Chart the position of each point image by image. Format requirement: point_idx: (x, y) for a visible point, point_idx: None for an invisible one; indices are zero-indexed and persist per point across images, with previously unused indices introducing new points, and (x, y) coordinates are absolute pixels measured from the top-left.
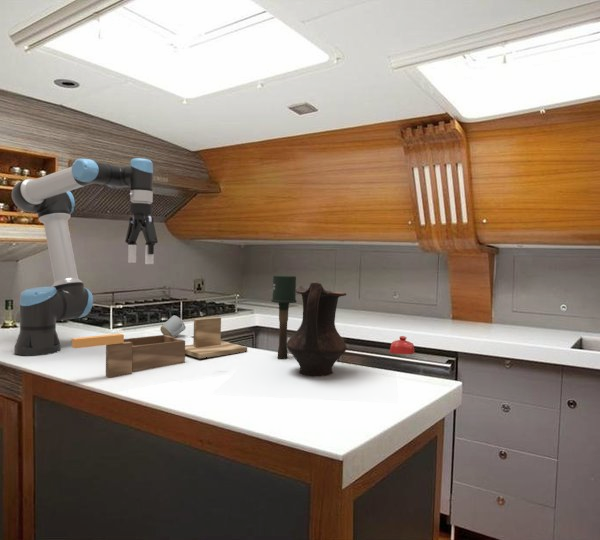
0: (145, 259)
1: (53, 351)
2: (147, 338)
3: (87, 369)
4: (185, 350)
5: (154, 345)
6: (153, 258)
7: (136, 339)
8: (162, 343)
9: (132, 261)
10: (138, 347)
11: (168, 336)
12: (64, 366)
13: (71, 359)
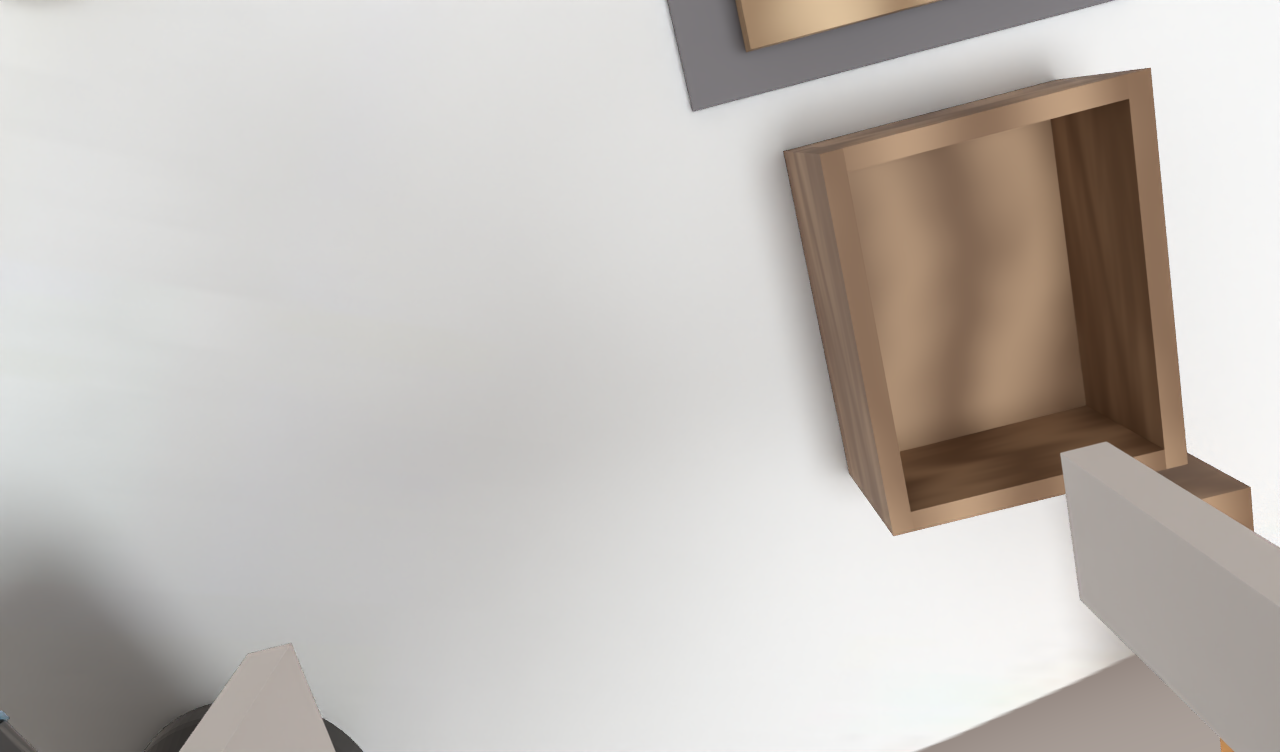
0: (1140, 649)
1: (349, 737)
2: (869, 303)
3: (906, 606)
4: (895, 11)
5: (1168, 317)
6: (1184, 492)
7: (885, 386)
8: (1168, 259)
9: (310, 731)
10: (1179, 426)
11: (909, 144)
12: (784, 699)
13: (619, 661)
